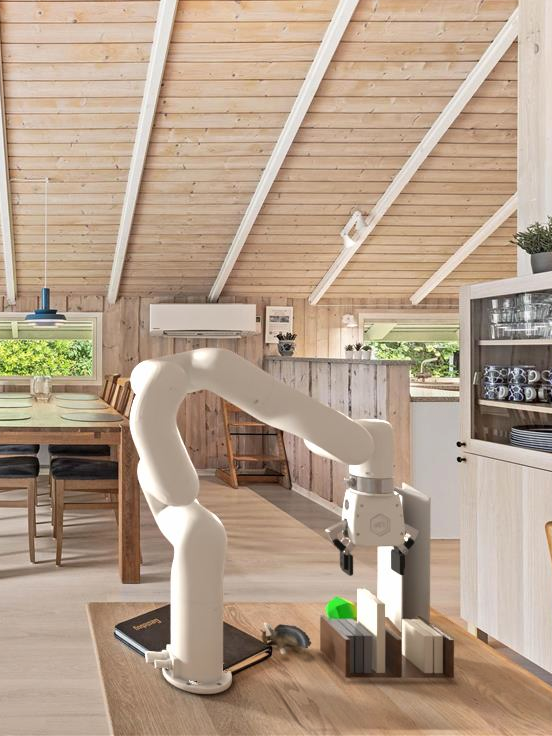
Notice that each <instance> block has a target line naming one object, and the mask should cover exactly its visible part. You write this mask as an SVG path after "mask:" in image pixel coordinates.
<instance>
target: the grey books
mask: <svg viewBox="0 0 552 736" xmlns="http://www.w3.org/2000/svg"><path fill="white" fill-rule="evenodd" d="M327 619H328V618H327ZM328 620H330V621H331V622H332V623H333V624H334V625H335V626H336V627H337V628H338V629H339V630H340V631H341V632H342V633H343V634H344V635H346V636H347V637H348V638H349V639H350V673H354V672H355V673H363V672H364V673H372V635H371V634H370V633H368V632H367V631H366V630H365V629H364V628H363V627H361V626H360V625H359V624H358V623H357V621H355V620H353V619H337V620H336V619H328Z"/></svg>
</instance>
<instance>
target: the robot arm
mask: <svg viewBox="0 0 552 736" xmlns="http://www.w3.org/2000/svg"><path fill="white" fill-rule="evenodd" d="M130 387H131V389H132V391H133V394H135V395H134V399H133V402H132V405H131V409H130V412H129V413H130V414H129V429H130V434H131V437H132V440H133V443H134V446H135V449H136V451H137V454H138V457H139V459H140V460H139V461H138V463H137V471H136V472H137V478H138V479H137V480H138V482H139V485H140V488H141V490H142V492H143V495H144V497H145V500H146V502H147V504H148V507H149V510H150V511H151V513H152V515H153V518H154V520H155V523H156V525H157V527H158V529H159V530H160V532H161V534H163V536H164V537H165V538H166V539H167V540H168V542H170V544H171V545H172V546H173V549H174V551H173V552H174V553H173V560H172V564H171V570H170V643H169V644H166V649H162V650H161V651H153V650H152V651H151V650H150V651H145V653H144V655H145V662H146V663H147V664H154V668H155V669H162V670H161V671H162V676H163V677H164V679H166V681H167V682H168V683H170V684H171V685H172V686H174V687H176V688H178V689H180V690H182V691H185V692H188V693H193V694H200V695H213V694H218V693H222V692H224V691H227V689H229V688H230V687H231V685H232V681H233V677H232V676H233V674H232V672H231V670H230V671H228V670H224V671H228V672H227V673H224V674H223V664H224V575H225V574H224V573H225V565H226V558H227V552H228V546H229V545H228V535H227V534H228V533H227V531H226V528H225V526H224V524H223V523H222V521H221V520H220V519H219V517H217V516H216V514H214V513H213V512H212V511H211V510H209V509H208V508H206V507H205V506H203V505H202V504H200V503H199V501H198V498H197V497H198V495H199V492H200V479H199V476H198V473H197V470H196V469H195V466H194V464H193V462H192V459H191V457H190V455H189V453H188V450H187V448H186V446H185V444H184V441H183V439H182V437H181V436H182V435H181V434H180V431H179V428H178V424H177V423H178V422H177V415H178V411H179V409H180V406H181V405H182V403H183V401H184V400H185V398H186V396H187V394H191V393H195V392H199V391H203V390H205V391H209V392H211V393H213V394H215V395H217V396H219V397H220V398H221V399H224V400H225V401H227V402H229V403H230V404H232V405H233V406H235V407H237V408H239V409H240V410H242V411H243V412H245V413H246V414H248V415H249V416H252V417H253V418H255V419H256V420H258V421H259V422H262V423H263V424H266V425H268V426H270V427H272V428H274V429H278V430H280V431H283V432H287V433H289V434H292V435H294V436H296V437H298V438H301V439H302V440H303V443H304V444H305V446H306V448H307V449H308V450H310V451H311V452H312V453H313V454H315V455H317V456H320V457H322V458H326V459H329V460H332V461H335V462H338V463H340V464H343V465H346V466H349V471H348V472H349V473H348V477H346V478H343V479H342V484H343V485H344V486H347V487H348V488H347V489H346V491H345V495H344V499H343V503H342V504H343V506H342V512H341V513H342V514H341V520H340V521H339V522H337V523H335V524H332V525H330V526H329V527H327V528H326V529H325V533H326V535H327V537H328V539H329V541H330V543H331V544H332V545H333V546H334V547H335V548H336V549H337V550H338V551H339V567H340V569H341V571H342V572H343V573H345V574H346V575H347V576H349V577H352V576H354V555H353V554H351V552H353V550H354V549H355V548H356V546H357V547H362V548H363V547H364V548H365V547H366V548H369V547H372V548H373V547H374V548H375V547H377V548H378V547H390V546H393V547H394V549H391V569H392V570H393V571H395V572H396V573H398V574H399V575H404V569H405V554H407V553H408V550H409V549H410V548H411V547H412V546H413V544H414V540H415V539H416V537H417V535H418V533H419V531H418V530H417V529H415V528H413V527H411V526H409V525H407V524H405V523H404V516H403V510H402V505H401V500H400V497H399V493H397V492H395V491H394V486H395V459H394V457H395V452H394V451H395V448H394V446H395V445H394V443H395V441H394V439H395V437H394V427H393V425H392V424H391V423H390V422H388V421H385V420H381V419H374V418H373V419H370V418H366V419H365V418H361V419H360V418H359V419H354V420H353V419H352V418H351V417H348V416H347V415H345V414H344V413H342V412H340V411H339V410H337V409H335V408H334V407H331V406H329V405H328V404H326V403H324V402H322V401H320V400H318V399H315V398H314V397H312V396H311V395H308V394H307V393H304V392H303V391H301V390H299V389H297V388H295V387H293V386H291V385H289V384H287V383H286V382H284V381H282V380H280V379H278V378H277V377H275V376H274V375H272V374H271V373H269V372H267V371H266V370H264V369H262V368H261V367H259V366H257V365H255V364H254V363H252V362H251V361H250V360H247V359H246V358H244V357H243V356H241V355H239V354H237V353H236V352H234V351H232V350H230V349H227V348H223V347H202V348H196V349H192V350H188V351H183V352H178V353H174V354H170V355H164V356H159V357H155V358H149V359H146V360H143V361H142V362H140V363H138V364H137V365H136V366H135V367H134V369H133V370H132V372H131V375H130ZM405 531H406V532H407V533H406V537H405ZM340 533H341V534H342V539H341V540H340V539H339V537H338V534H340ZM167 668H168V670H167ZM189 680H190V681H192V680H193V681H197V682H201V683H202V684H199V685H194V684H192V683H190V682H189Z"/></svg>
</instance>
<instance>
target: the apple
mask: <svg viewBox="0 0 552 736" xmlns="http://www.w3.org/2000/svg"><path fill="white" fill-rule="evenodd" d="M325 613H326V615H327V619H336V620H337V619H353V620H355V621H356V622H357V605H356V604H355V603H354V602H352V601H350V600H348V599H345V598H343V597H340V596H338V595H337V596H335V597H333V598H332V599H331V600H329V601H328V602H327V603H326V606H325Z"/></svg>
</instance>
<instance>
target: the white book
mask: <svg viewBox="0 0 552 736" xmlns="http://www.w3.org/2000/svg"><path fill="white" fill-rule="evenodd" d="M356 609H357V621H356V622H357V623H358V624H359V625H360V626H361V627H363V628H364V629H365V630H366V631H367V632H368V633H370V634H371V635H372V669H373V670H374V671H375V672H376V673H385V627H386V617H385V603H383V602H382V601H381V600H379V599H378V596H376V595H374V594H373V593H372V592H370V591H369V590H367V589H366V588H357V590H356Z"/></svg>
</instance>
